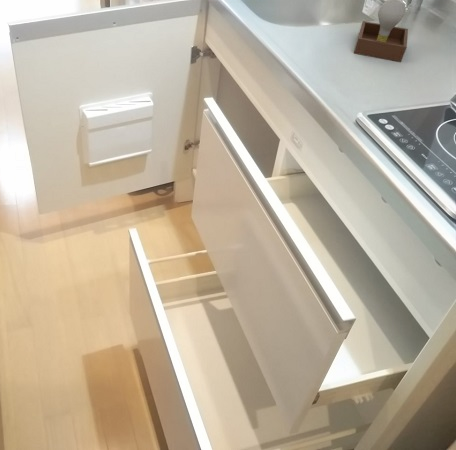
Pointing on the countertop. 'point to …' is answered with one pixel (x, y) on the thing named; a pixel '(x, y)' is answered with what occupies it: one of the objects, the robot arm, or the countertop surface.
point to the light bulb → (389, 17)
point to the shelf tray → (378, 49)
